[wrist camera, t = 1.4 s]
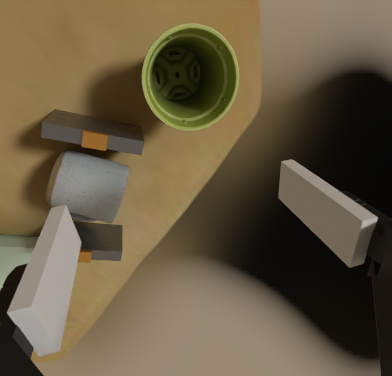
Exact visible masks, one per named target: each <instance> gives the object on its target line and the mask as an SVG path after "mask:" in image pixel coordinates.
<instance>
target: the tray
mask: <svg viewBox="0 0 392 376" xmlns="http://www.w3.org/2000/svg"><path fill="white" fill-rule="evenodd" d="M38 238H39V237H30V236H13V235H0V290H1V288H3V284H4V282H5V280H6V278H7V276H8V275H9V274H10V273H11V271H12V270H13V269H14V268H15V267H16V266H19V265H23V264H28V262H29V260H30V257H31V255H32V252H33V250H34V248H35V245H36V243H37V241H38Z"/></svg>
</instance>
